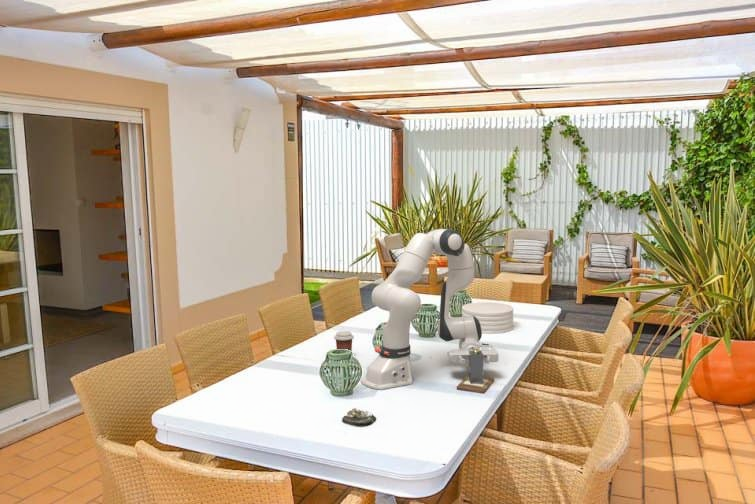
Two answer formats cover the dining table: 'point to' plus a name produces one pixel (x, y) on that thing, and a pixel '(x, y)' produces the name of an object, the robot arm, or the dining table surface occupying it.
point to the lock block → (476, 367)
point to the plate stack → (491, 316)
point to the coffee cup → (344, 340)
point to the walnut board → (475, 385)
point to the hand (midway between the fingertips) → (475, 361)
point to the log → (359, 418)
